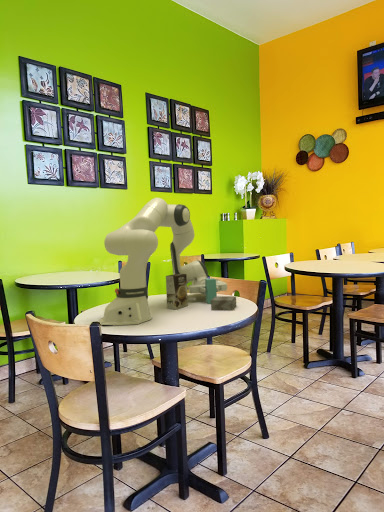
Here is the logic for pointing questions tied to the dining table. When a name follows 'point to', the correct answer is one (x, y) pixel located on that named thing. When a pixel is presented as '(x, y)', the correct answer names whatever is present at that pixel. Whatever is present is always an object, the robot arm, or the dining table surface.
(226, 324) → the dining table surface
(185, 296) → the coffee box
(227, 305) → the charcoal block
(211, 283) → the teal pillar
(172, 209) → the robot arm
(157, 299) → the dining table surface
